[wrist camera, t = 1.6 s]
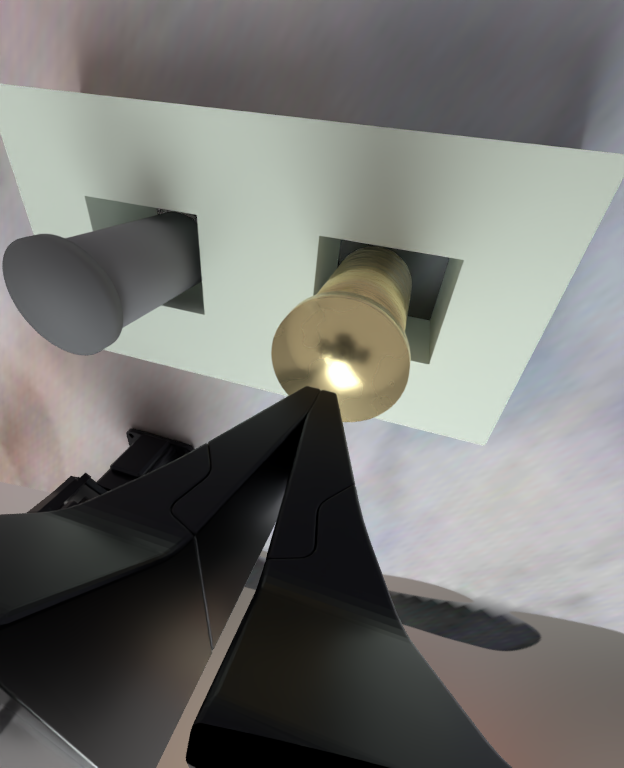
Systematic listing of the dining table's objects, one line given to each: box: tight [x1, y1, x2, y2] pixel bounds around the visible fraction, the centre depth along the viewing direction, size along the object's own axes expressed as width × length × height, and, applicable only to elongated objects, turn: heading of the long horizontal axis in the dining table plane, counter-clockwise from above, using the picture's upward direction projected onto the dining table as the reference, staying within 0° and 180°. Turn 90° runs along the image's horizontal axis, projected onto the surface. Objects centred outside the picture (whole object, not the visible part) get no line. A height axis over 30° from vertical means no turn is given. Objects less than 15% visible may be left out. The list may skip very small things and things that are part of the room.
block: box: [0, 84, 624, 446], centre depth 18 cm, size 12×24×5 cm, turn 84°
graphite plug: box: [3, 212, 202, 355], centre depth 16 cm, size 4×4×8 cm
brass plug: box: [271, 246, 412, 422], centre depth 14 cm, size 4×4×8 cm
